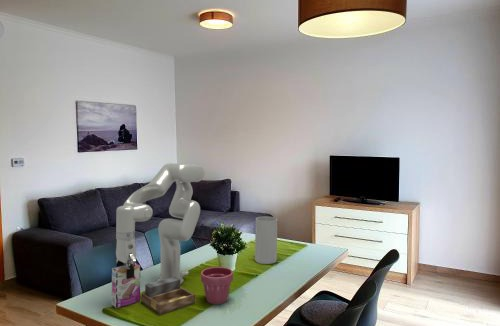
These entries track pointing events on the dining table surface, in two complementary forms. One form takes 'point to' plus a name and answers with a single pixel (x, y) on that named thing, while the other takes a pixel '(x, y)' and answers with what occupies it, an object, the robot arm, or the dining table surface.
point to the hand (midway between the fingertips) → (125, 274)
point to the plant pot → (216, 283)
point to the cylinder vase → (266, 240)
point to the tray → (166, 296)
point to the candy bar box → (125, 286)
